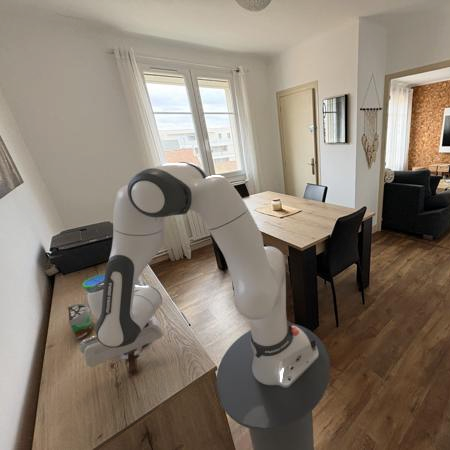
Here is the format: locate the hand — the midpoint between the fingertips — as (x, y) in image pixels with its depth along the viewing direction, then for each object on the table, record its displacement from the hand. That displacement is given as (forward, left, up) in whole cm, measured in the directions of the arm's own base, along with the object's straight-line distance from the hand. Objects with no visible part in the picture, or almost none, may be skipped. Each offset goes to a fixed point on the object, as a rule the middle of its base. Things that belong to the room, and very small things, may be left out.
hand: (132, 358), depth 79 cm
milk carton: (-2, -35, -3) cm, 35 cm away
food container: (+16, -31, -3) cm, 35 cm away
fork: (0, -2, -1) cm, 2 cm away
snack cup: (+12, -53, -3) cm, 54 cm away
